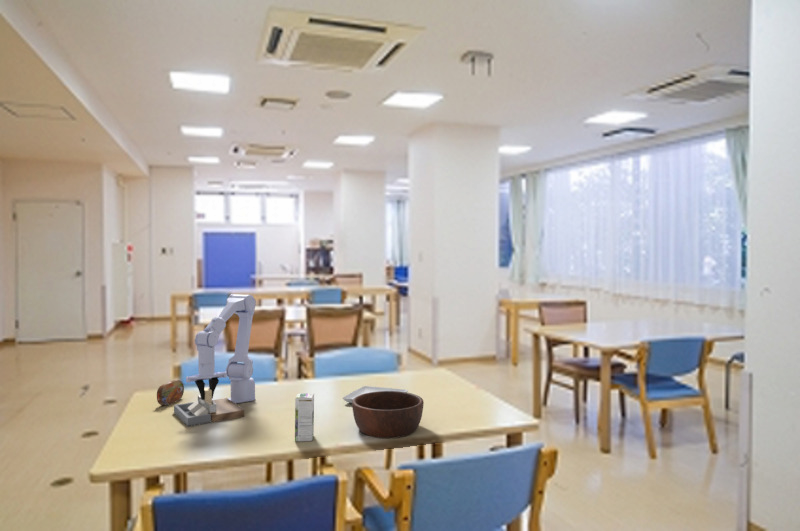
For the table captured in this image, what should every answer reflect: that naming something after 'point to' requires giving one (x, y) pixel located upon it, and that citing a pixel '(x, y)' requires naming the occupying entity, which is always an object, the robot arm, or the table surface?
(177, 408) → the box
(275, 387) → the table surface
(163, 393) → the tin
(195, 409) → the tile
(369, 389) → the salad plate
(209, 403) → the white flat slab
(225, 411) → the board
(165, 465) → the table surface
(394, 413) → the wooden bowl
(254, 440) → the table surface
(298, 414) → the syrup box
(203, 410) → the tile
